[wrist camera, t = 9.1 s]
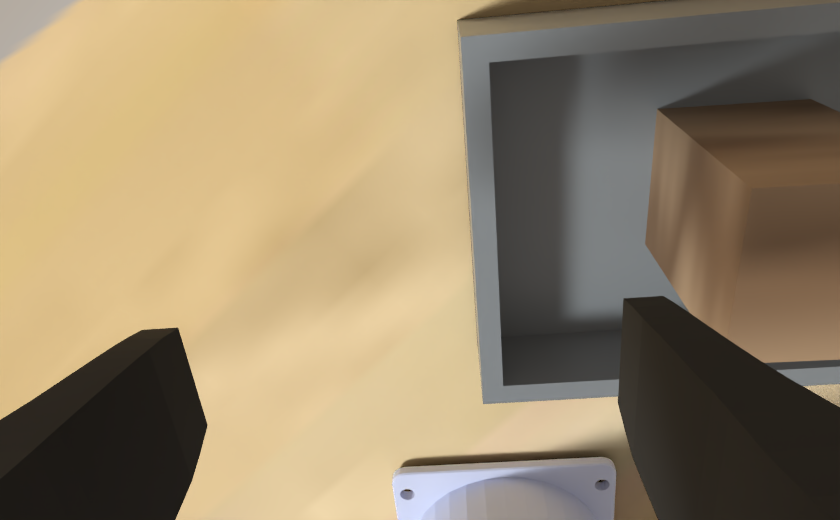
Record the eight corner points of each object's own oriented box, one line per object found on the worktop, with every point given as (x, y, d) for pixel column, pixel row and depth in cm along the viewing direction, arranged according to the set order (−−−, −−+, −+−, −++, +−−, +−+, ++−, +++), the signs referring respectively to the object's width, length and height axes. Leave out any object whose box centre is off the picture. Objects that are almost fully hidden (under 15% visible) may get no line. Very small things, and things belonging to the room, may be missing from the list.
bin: (894, 319, 21) (960, 377, 18) (477, 345, 22) (483, 403, 19) (988, -31, 16) (1095, -22, 14) (457, 20, 17) (460, 37, 15)
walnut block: (784, 236, 19) (918, 356, 14) (645, 244, 19) (723, 364, 14) (810, 98, 17) (975, 175, 12) (657, 108, 18) (751, 188, 12)
